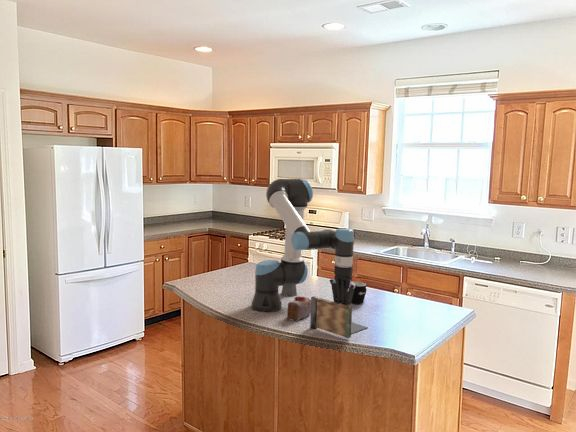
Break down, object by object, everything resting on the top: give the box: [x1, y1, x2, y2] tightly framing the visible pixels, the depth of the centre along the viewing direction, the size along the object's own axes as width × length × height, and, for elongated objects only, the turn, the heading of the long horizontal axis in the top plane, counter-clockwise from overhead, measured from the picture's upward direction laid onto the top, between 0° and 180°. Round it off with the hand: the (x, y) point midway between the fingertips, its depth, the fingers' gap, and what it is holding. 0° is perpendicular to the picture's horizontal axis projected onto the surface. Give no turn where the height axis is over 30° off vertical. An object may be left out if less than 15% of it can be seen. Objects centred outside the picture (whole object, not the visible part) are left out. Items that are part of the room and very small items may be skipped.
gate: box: [316, 297, 353, 339], centre depth 198 cm, size 17×2×13 cm, turn 47°
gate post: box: [309, 295, 319, 330], centre depth 205 cm, size 3×3×14 cm
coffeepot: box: [281, 284, 298, 297], centre depth 259 cm, size 15×9×18 cm, turn 113°
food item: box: [286, 296, 311, 322], centre depth 220 cm, size 14×8×10 cm, turn 151°
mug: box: [349, 281, 367, 305], centre depth 247 cm, size 12×9×10 cm
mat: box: [351, 321, 369, 335], centre depth 206 cm, size 11×16×1 cm
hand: (341, 320), depth 198 cm, fingers closed
